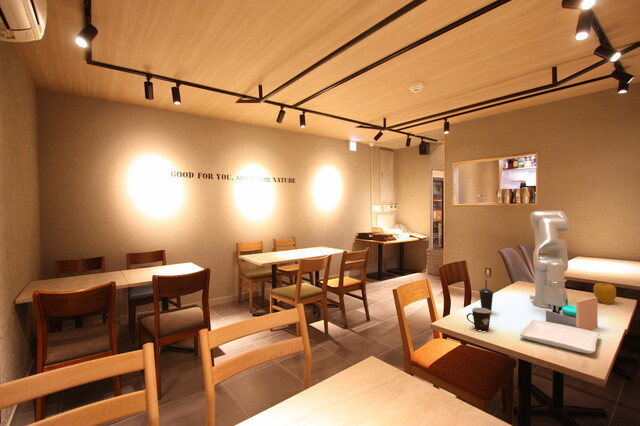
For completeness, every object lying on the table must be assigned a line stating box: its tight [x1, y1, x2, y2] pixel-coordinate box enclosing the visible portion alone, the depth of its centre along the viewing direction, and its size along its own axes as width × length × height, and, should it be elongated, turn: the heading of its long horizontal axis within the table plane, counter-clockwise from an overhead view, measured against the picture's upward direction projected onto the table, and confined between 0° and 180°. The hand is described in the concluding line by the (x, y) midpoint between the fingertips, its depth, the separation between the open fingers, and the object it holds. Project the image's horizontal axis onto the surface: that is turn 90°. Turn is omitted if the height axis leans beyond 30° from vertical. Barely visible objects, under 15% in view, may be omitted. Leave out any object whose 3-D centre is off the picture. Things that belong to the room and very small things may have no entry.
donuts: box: [561, 304, 576, 316], centre depth 162 cm, size 10×10×10 cm
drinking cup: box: [478, 279, 494, 312], centre depth 183 cm, size 8×8×20 cm
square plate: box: [519, 319, 601, 354], centre depth 147 cm, size 27×27×4 cm
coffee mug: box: [466, 307, 492, 332], centre depth 161 cm, size 12×9×10 cm
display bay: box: [545, 296, 599, 331], centre depth 162 cm, size 15×16×16 cm
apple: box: [592, 282, 617, 305], centre depth 198 cm, size 11×11×13 cm
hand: (556, 317), depth 169 cm, fingers closed
